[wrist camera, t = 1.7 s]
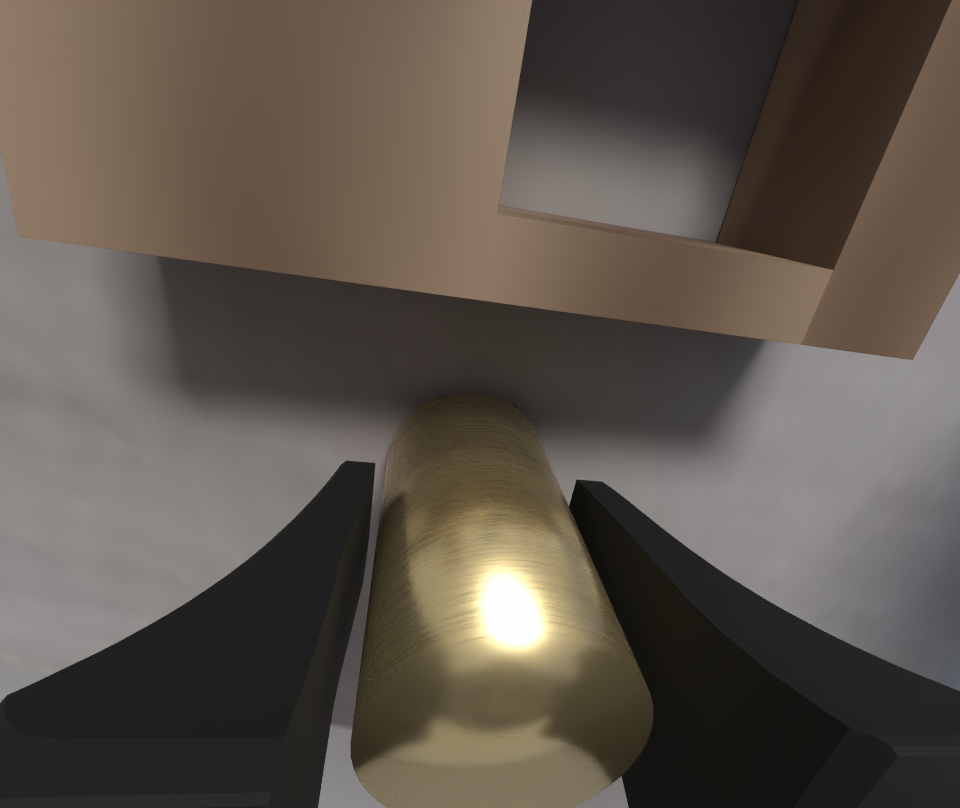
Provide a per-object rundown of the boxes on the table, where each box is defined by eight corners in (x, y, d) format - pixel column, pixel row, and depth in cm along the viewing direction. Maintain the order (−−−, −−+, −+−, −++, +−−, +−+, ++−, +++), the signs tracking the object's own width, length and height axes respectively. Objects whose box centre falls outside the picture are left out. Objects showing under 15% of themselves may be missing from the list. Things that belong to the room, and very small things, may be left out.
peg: (556, 401, 12) (695, 638, 6) (525, 530, 14) (609, 824, 8) (394, 384, 12) (360, 628, 5) (380, 521, 13) (342, 832, 7)
